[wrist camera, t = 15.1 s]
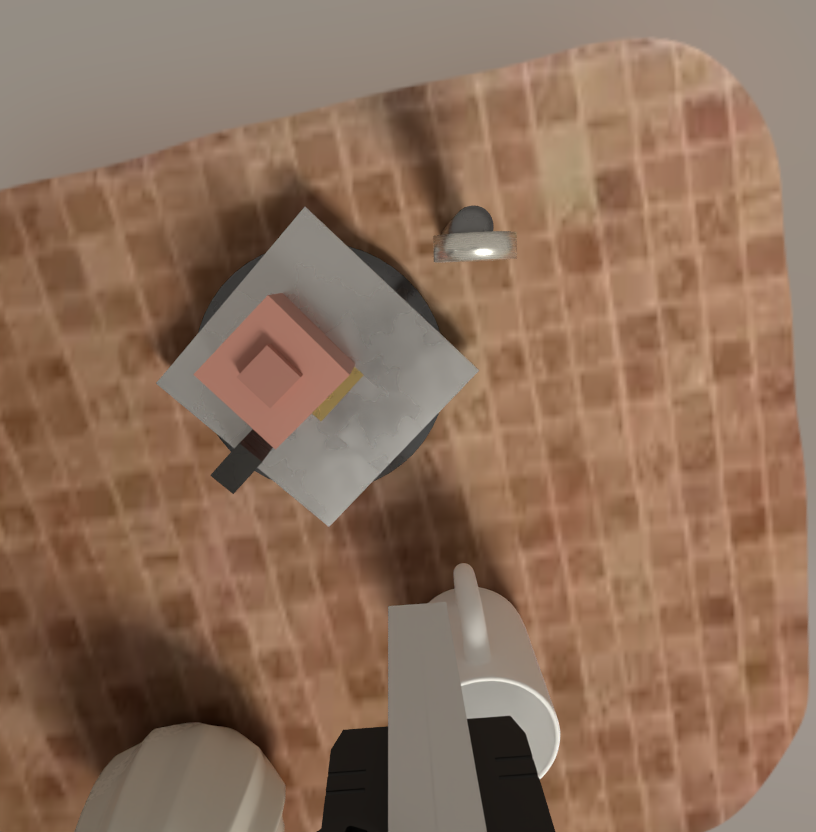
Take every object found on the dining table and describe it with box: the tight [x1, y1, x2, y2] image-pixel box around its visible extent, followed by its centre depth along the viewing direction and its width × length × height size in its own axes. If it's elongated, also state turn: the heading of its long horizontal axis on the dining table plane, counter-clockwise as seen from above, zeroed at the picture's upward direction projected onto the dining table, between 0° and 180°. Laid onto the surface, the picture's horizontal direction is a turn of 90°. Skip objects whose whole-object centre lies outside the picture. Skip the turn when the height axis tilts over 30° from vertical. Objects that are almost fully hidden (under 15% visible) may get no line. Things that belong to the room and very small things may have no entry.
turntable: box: [156, 207, 479, 526], centre depth 34 cm, size 14×14×6 cm
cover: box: [193, 293, 355, 450], centre depth 34 cm, size 6×6×5 cm
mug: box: [429, 563, 560, 779], centre depth 38 cm, size 12×8×10 cm
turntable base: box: [198, 247, 440, 482], centre depth 38 cm, size 16×16×1 cm
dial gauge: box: [433, 206, 517, 262], centre depth 32 cm, size 4×3×11 cm, turn 92°
